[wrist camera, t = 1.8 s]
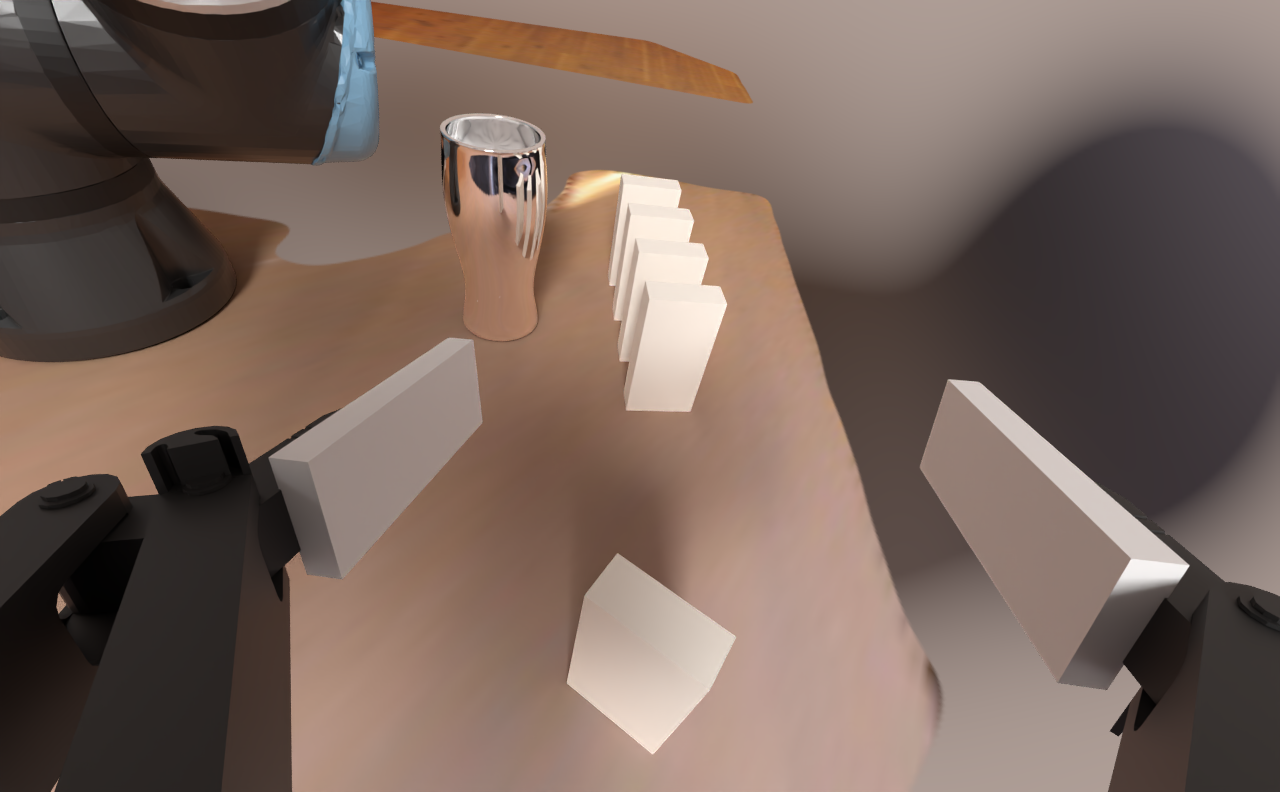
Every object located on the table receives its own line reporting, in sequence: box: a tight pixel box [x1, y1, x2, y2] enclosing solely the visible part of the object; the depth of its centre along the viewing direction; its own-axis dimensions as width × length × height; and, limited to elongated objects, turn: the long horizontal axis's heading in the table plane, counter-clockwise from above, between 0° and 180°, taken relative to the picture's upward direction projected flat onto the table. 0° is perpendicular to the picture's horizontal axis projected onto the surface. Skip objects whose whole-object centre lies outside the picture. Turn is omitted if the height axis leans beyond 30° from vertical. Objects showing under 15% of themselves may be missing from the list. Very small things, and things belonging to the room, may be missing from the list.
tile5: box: [608, 174, 681, 286], centre depth 47 cm, size 2×5×10 cm, turn 96°
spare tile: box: [567, 553, 736, 754], centre depth 21 cm, size 2×5×10 cm, turn 56°
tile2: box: [624, 281, 727, 412], centre depth 36 cm, size 2×5×10 cm, turn 96°
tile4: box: [612, 203, 694, 321], centre depth 43 cm, size 2×5×10 cm, turn 97°
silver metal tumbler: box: [440, 113, 547, 341], centre depth 38 cm, size 7×7×15 cm
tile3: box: [617, 238, 709, 362], centre depth 39 cm, size 2×5×10 cm, turn 96°
